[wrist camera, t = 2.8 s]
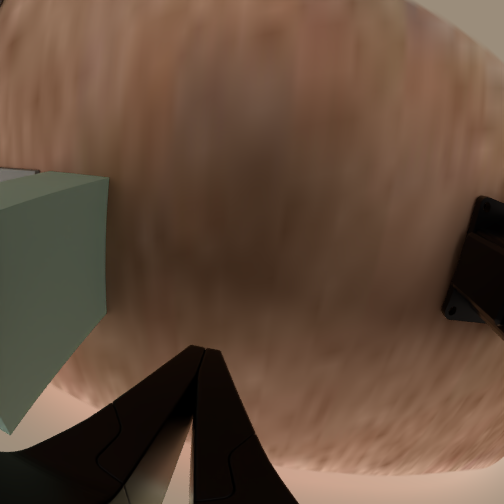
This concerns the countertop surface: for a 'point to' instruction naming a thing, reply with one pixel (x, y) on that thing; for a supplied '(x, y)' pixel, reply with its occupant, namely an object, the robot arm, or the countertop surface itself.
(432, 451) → the countertop surface
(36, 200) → the slab
